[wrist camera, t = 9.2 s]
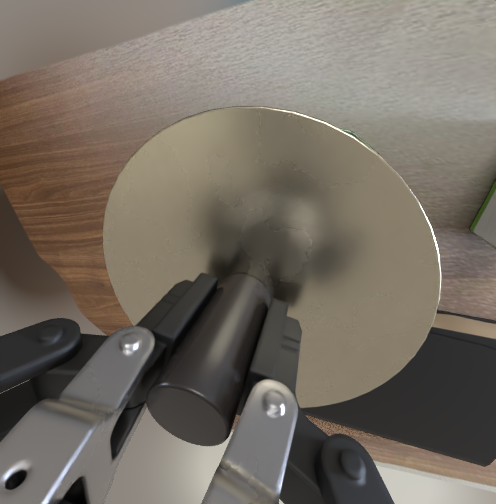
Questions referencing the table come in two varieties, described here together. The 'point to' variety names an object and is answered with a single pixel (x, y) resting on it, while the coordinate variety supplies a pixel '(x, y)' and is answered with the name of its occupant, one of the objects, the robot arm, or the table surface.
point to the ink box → (487, 219)
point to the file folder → (435, 394)
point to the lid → (270, 258)
